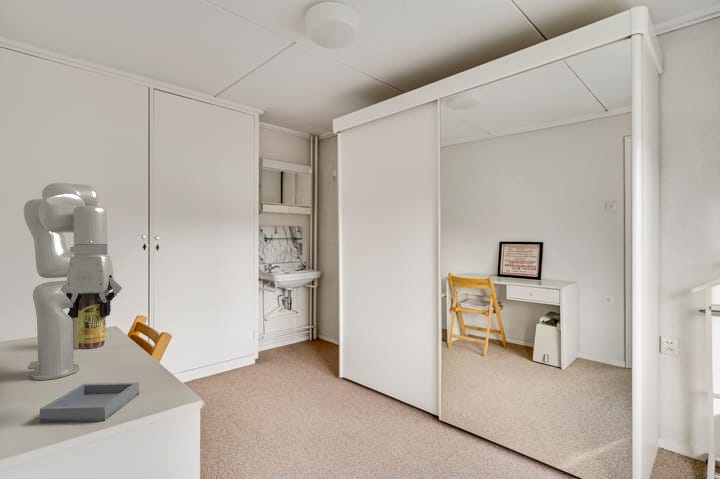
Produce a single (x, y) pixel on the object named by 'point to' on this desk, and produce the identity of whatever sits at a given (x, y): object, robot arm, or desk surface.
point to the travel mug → (74, 328)
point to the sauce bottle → (90, 322)
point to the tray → (89, 402)
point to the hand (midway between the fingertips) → (92, 315)
